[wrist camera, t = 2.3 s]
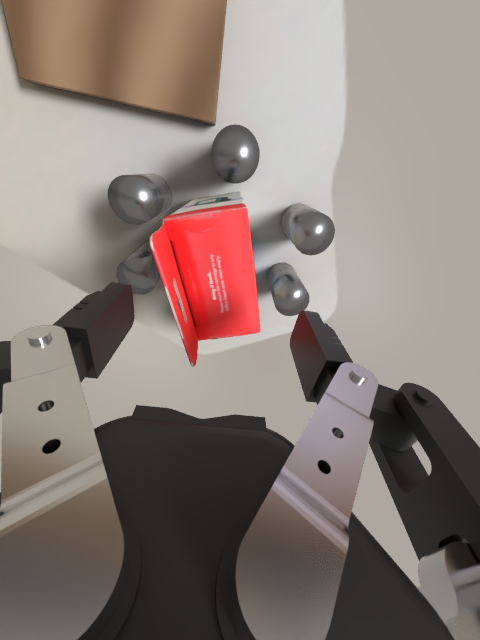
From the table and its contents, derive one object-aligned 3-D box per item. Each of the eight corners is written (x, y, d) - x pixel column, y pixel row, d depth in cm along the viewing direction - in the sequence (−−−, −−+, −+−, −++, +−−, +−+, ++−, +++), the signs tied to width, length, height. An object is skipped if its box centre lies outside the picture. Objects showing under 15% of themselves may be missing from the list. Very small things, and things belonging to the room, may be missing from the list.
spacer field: (142, 299, 28) (122, 328, 23) (132, 112, 19) (96, 91, 14) (281, 318, 30) (291, 349, 25) (333, 158, 21) (365, 154, 16)
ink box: (252, 273, 27) (268, 364, 14) (209, 279, 27) (189, 374, 15) (241, 188, 22) (252, 214, 10) (190, 197, 22) (136, 232, 10)
